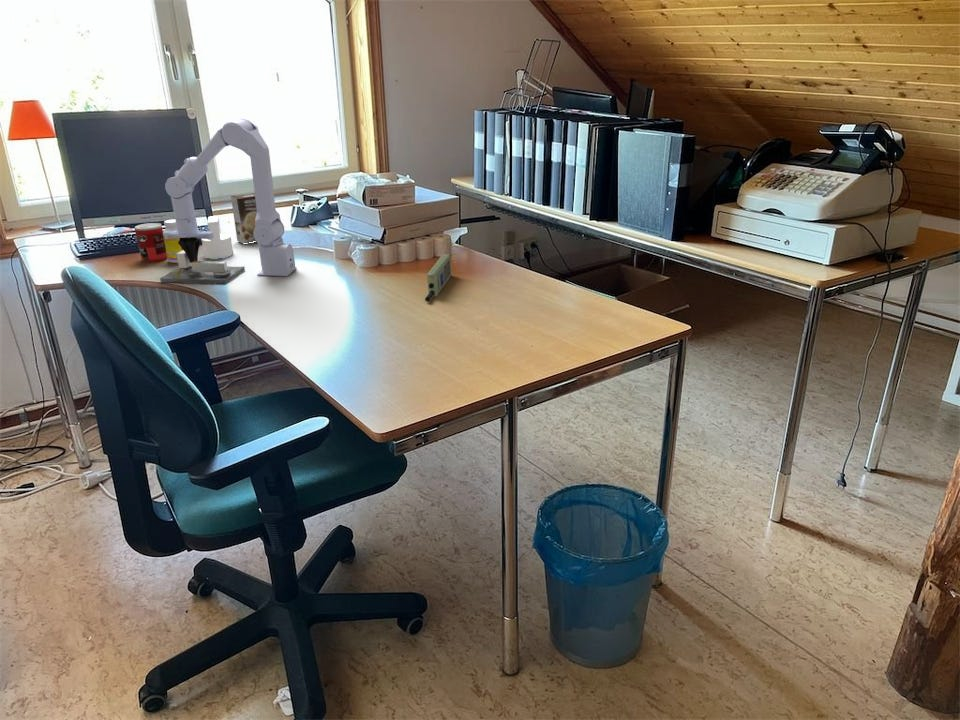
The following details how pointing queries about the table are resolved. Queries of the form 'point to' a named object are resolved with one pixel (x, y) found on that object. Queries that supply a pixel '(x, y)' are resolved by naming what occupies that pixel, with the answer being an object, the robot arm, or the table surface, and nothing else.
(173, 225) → the supplement bottle
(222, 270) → the selector lever
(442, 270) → the handheld radio
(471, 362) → the table surface
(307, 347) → the table surface
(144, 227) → the canned food
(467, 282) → the table surface
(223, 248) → the base with upright slab
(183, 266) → the cap
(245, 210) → the coffee box
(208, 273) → the console plate
